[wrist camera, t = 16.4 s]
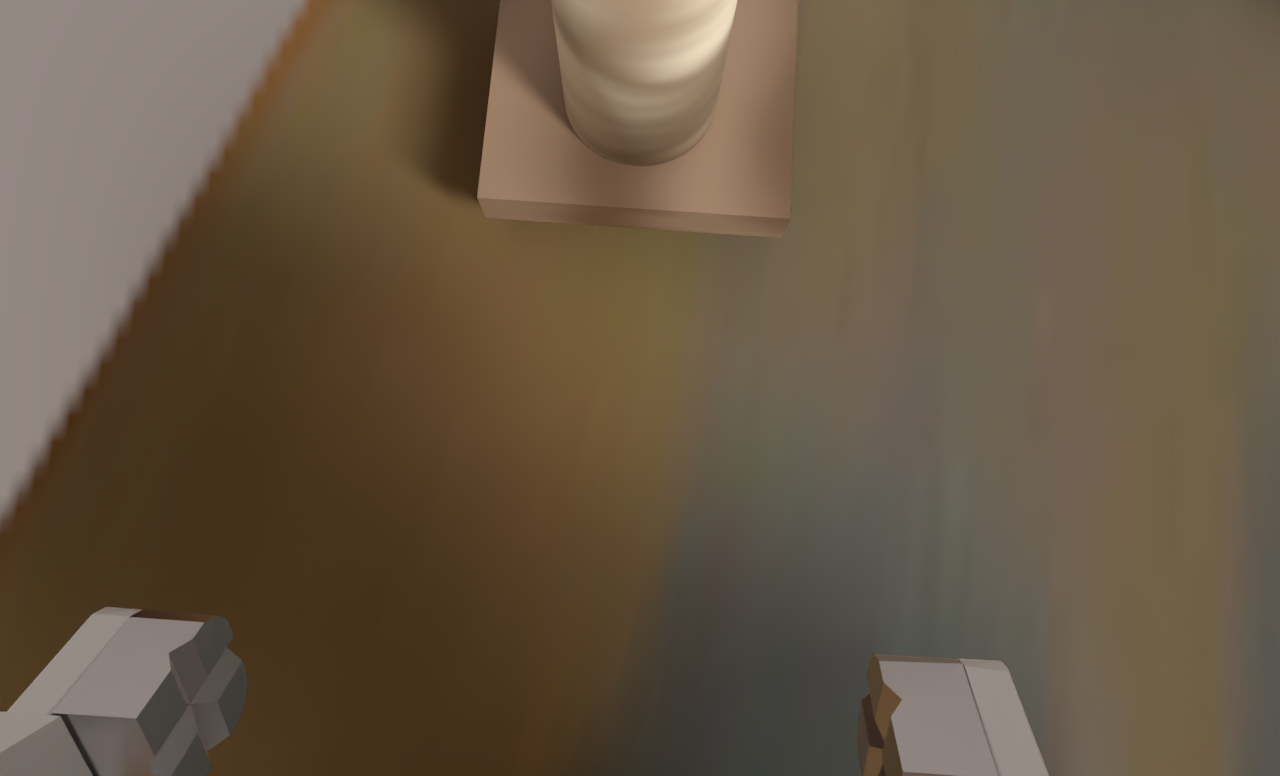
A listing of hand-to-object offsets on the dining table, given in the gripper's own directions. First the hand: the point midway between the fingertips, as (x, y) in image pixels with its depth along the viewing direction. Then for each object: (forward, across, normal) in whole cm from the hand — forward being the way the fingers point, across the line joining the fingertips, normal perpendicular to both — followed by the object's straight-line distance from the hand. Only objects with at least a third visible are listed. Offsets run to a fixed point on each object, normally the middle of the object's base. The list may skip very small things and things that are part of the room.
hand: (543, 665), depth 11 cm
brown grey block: (+25, +1, -1) cm, 25 cm away
